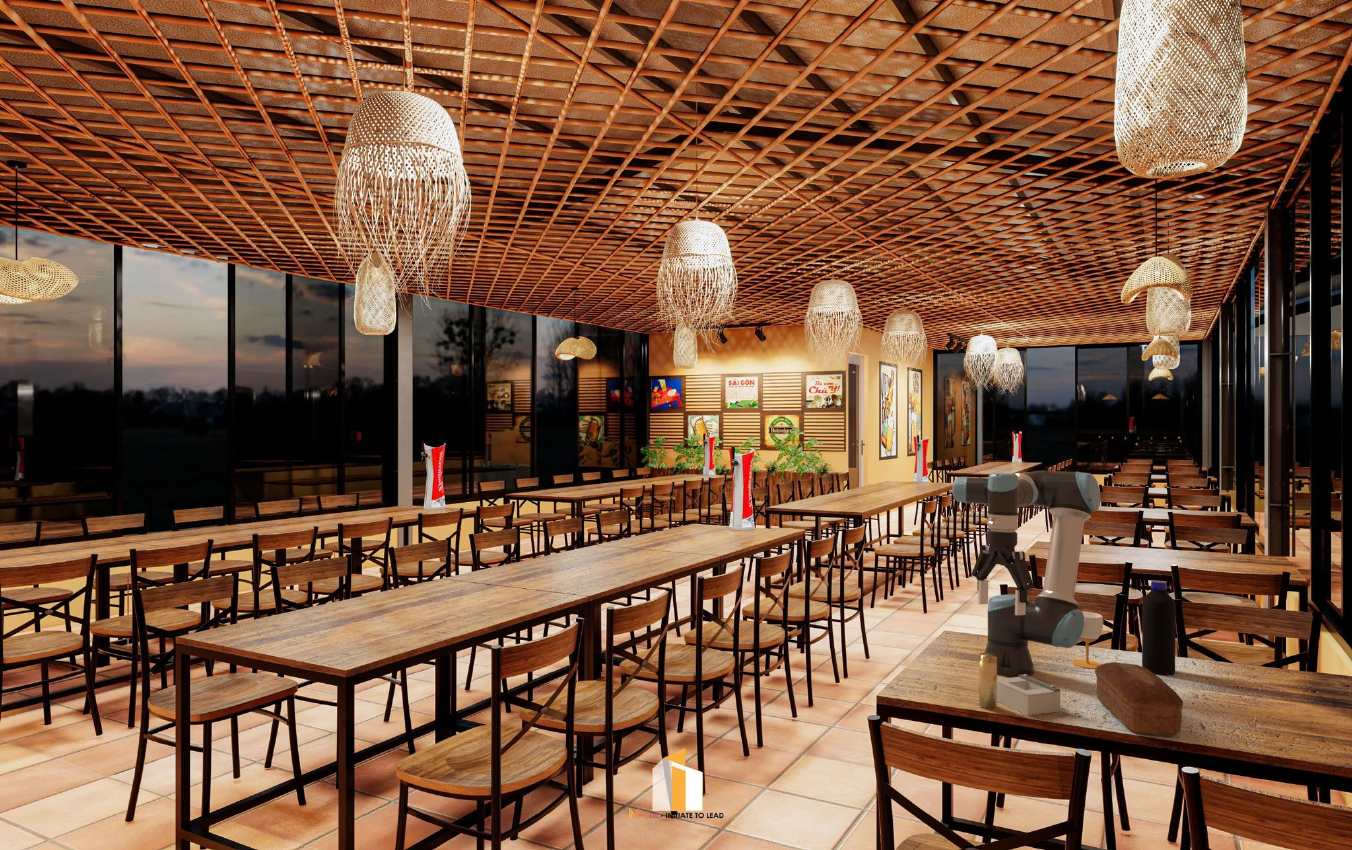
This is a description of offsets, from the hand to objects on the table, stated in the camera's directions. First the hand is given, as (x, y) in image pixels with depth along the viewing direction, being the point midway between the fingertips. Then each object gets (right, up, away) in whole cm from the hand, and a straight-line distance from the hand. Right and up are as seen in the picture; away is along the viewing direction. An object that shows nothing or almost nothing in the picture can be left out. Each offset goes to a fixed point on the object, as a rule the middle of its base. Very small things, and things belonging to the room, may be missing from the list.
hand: (1001, 609), depth 208 cm
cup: (+45, -28, +40) cm, 66 cm away
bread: (+33, -27, -6) cm, 43 cm away
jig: (+8, -27, +2) cm, 28 cm away
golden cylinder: (-3, -27, +1) cm, 27 cm away
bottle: (+64, -28, +34) cm, 77 cm away
